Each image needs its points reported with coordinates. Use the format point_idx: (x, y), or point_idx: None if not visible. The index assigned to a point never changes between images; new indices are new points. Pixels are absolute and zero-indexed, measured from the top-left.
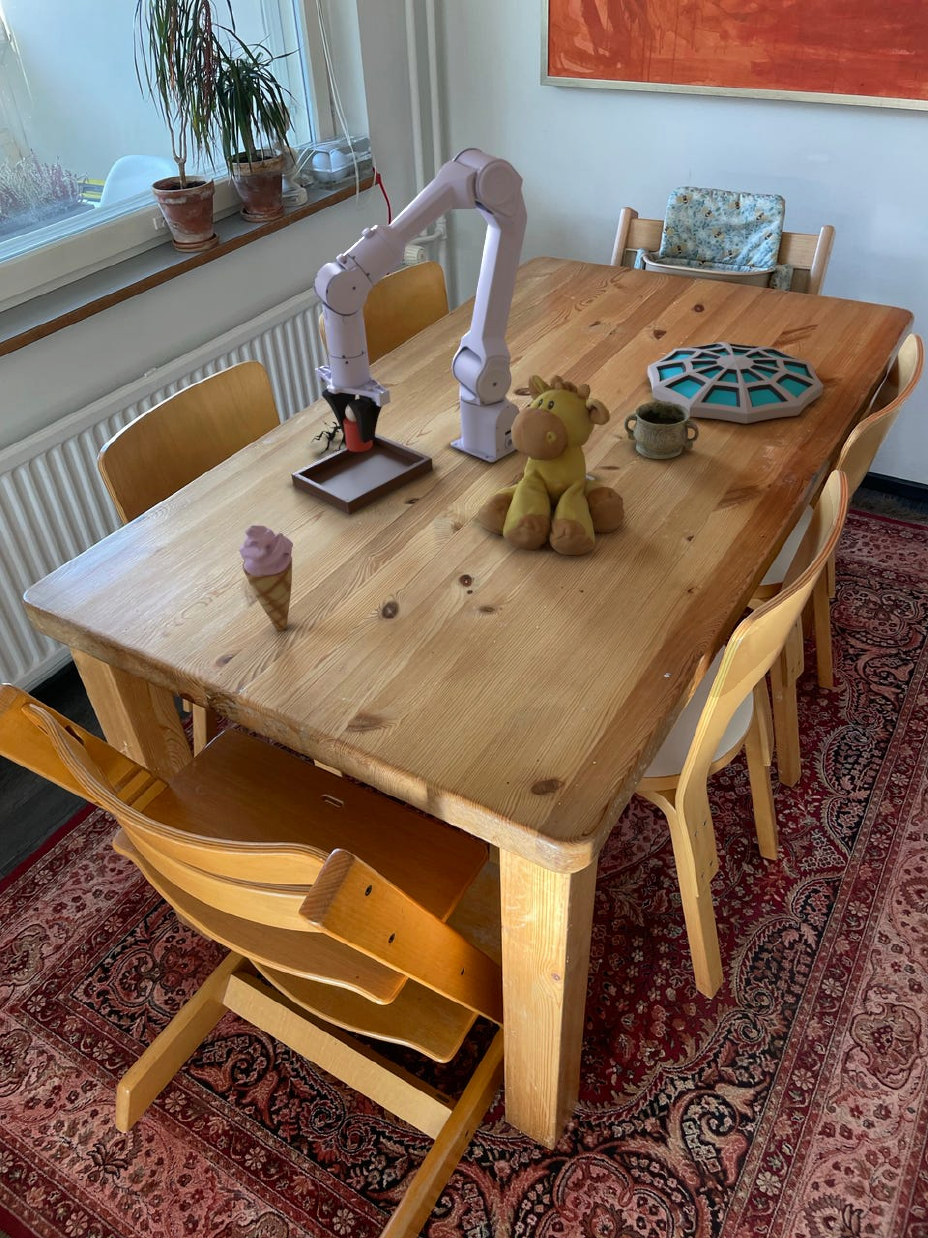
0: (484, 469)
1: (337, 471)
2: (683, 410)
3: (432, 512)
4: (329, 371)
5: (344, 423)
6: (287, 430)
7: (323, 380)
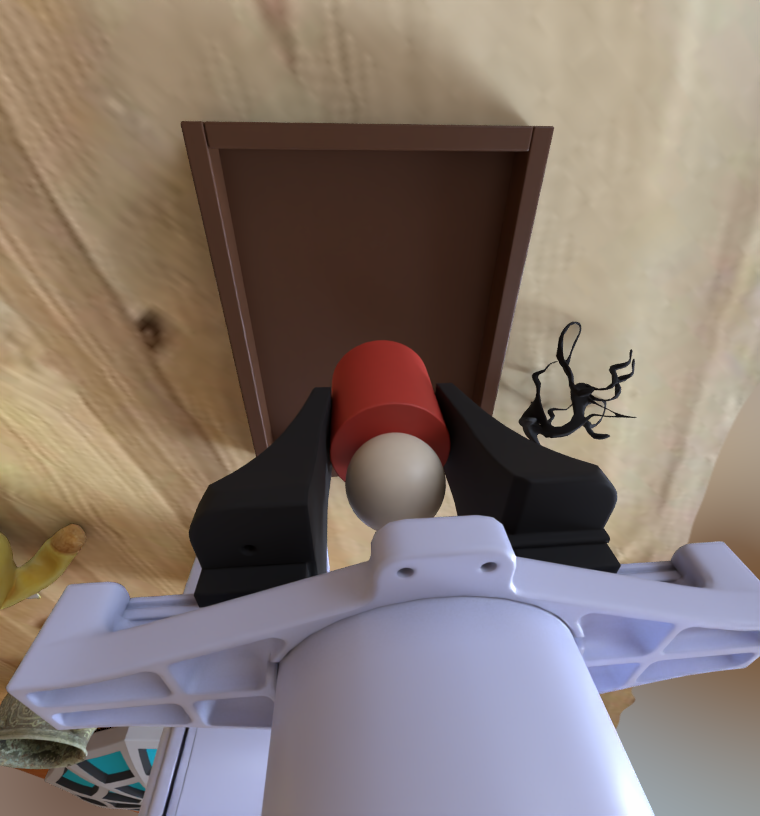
0: (187, 515)
1: (449, 293)
2: (32, 763)
3: (52, 327)
4: (665, 652)
5: (410, 403)
6: (743, 358)
7: (677, 563)
